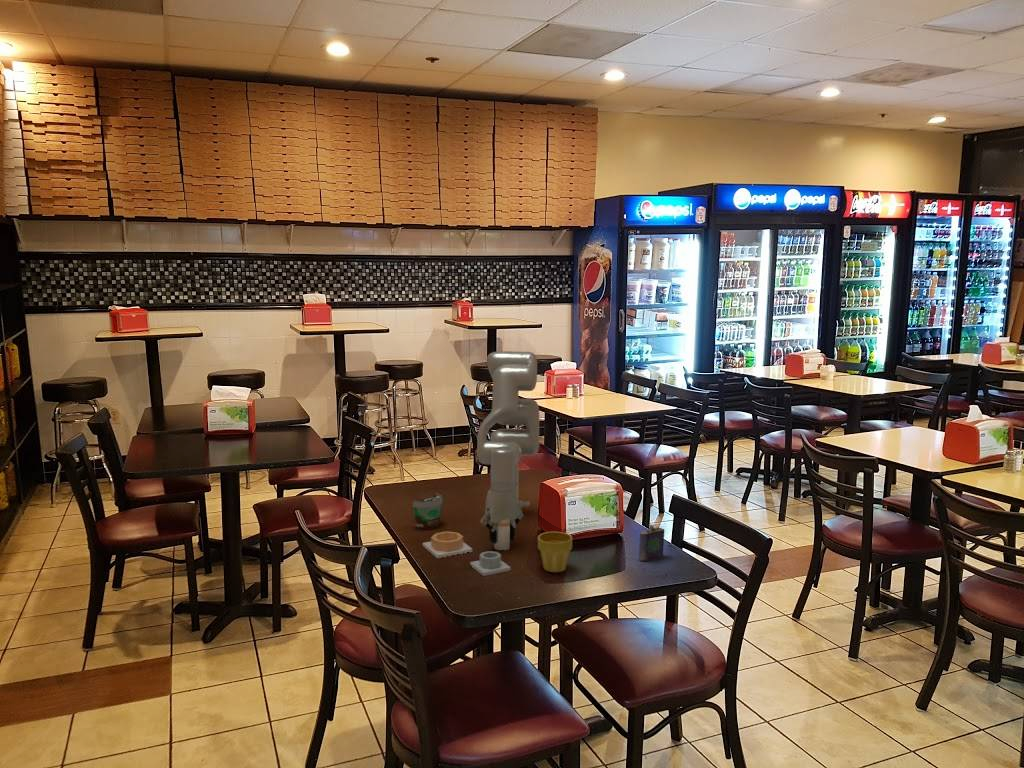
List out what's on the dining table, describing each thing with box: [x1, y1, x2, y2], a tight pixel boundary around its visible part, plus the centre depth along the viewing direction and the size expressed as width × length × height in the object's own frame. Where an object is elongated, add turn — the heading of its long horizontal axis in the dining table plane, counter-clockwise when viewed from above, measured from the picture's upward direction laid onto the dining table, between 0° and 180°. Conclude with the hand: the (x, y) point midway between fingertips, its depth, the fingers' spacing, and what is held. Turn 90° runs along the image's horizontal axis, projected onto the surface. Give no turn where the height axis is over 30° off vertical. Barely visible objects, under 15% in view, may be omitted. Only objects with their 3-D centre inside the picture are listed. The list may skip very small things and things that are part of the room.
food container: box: [412, 492, 444, 530], centre depth 259 cm, size 12×6×10 cm, turn 143°
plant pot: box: [537, 531, 573, 573], centre depth 224 cm, size 10×10×10 cm
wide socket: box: [422, 530, 473, 559], centre depth 239 cm, size 12×12×4 cm
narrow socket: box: [469, 550, 512, 577], centre depth 224 cm, size 9×9×4 cm
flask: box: [638, 523, 665, 562], centre depth 233 cm, size 9×3×11 cm, turn 121°
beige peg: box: [493, 519, 511, 551], centre depth 240 cm, size 5×5×10 cm
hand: (501, 540), depth 240 cm, fingers open, 5 cm apart
